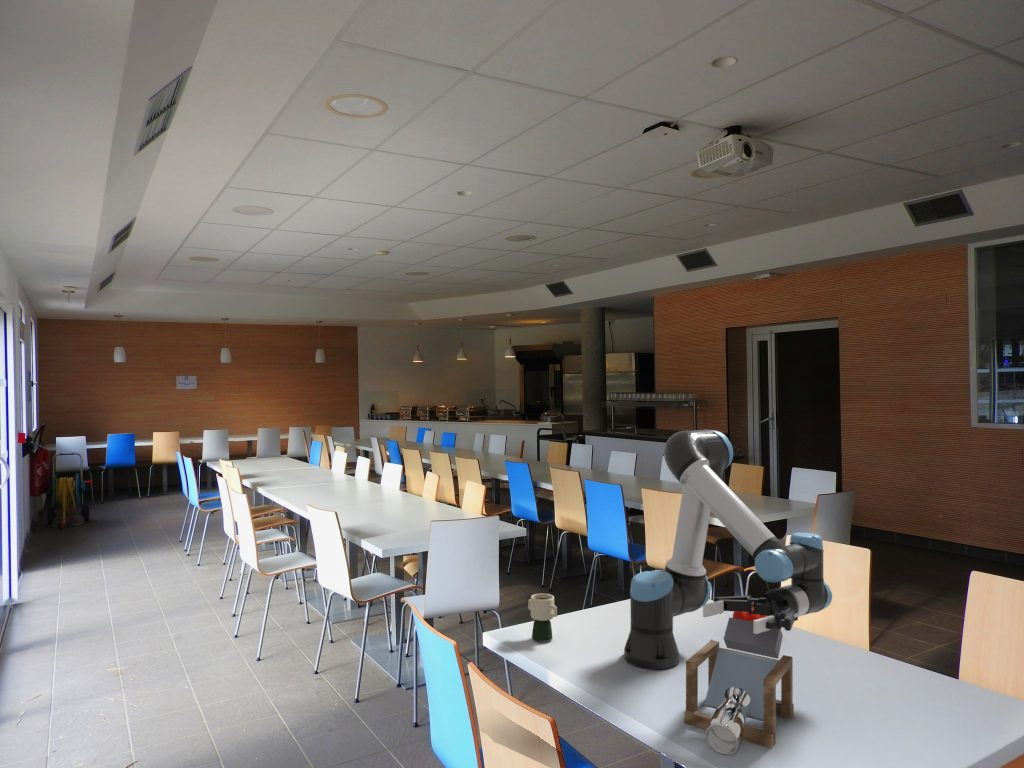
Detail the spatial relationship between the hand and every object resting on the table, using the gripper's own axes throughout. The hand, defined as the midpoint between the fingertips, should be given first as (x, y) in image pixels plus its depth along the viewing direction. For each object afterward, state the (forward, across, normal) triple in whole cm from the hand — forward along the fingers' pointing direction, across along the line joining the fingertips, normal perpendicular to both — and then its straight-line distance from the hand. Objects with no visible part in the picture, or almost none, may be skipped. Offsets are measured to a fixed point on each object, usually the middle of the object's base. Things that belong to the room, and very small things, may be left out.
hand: (728, 618), depth 154 cm
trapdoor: (-11, +3, -15) cm, 19 cm away
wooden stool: (-5, 0, -24) cm, 24 cm away
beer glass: (-1, -1, -18) cm, 18 cm away
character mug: (+1, +66, -24) cm, 71 cm away
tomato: (-55, +34, -24) cm, 69 cm away
